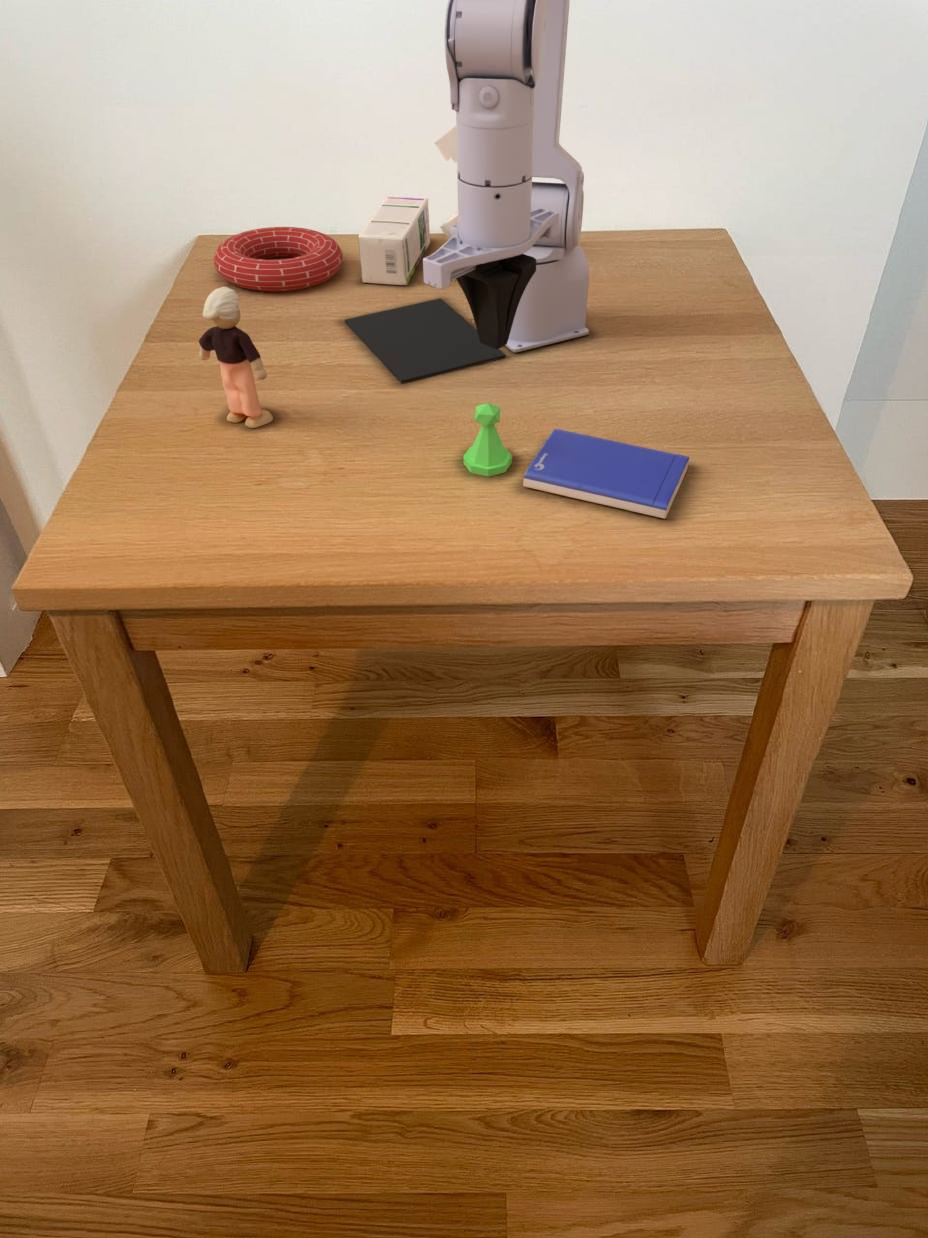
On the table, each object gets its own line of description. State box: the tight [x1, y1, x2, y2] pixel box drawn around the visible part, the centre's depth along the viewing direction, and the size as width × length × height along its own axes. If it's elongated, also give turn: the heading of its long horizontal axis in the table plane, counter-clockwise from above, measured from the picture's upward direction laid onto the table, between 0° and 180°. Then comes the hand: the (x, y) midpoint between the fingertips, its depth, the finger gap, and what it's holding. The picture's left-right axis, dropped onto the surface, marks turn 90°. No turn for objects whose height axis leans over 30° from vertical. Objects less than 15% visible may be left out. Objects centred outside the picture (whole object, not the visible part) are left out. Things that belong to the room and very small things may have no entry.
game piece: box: [462, 402, 513, 478], centre depth 80 cm, size 4×4×6 cm
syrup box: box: [357, 195, 431, 286], centre depth 114 cm, size 6×6×14 cm
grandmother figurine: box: [198, 286, 274, 429], centre depth 84 cm, size 8×4×13 cm, turn 71°
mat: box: [344, 297, 506, 384], centre depth 100 cm, size 12×16×1 cm
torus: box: [213, 226, 344, 292], centre depth 113 cm, size 16×14×4 cm
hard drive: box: [522, 428, 690, 520], centre depth 79 cm, size 2×8×12 cm
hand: (493, 343), depth 79 cm, fingers closed
